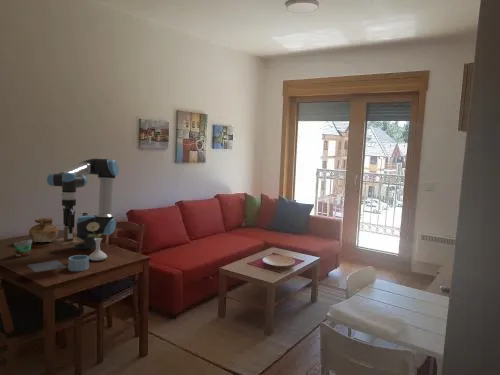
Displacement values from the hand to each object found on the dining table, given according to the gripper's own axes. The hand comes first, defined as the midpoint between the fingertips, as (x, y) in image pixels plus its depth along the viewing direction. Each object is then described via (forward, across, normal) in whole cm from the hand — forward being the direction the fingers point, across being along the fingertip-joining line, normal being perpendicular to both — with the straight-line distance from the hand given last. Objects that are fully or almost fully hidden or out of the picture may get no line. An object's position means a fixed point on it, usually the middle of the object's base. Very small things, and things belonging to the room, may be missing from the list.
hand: (68, 237), depth 223 cm
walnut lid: (+3, 0, 0) cm, 3 cm away
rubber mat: (+19, -10, -9) cm, 23 cm away
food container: (+19, -41, -13) cm, 47 cm away
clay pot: (+19, -71, +6) cm, 74 cm away
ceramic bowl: (+19, +4, +4) cm, 20 cm away
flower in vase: (+19, -8, +20) cm, 29 cm away
